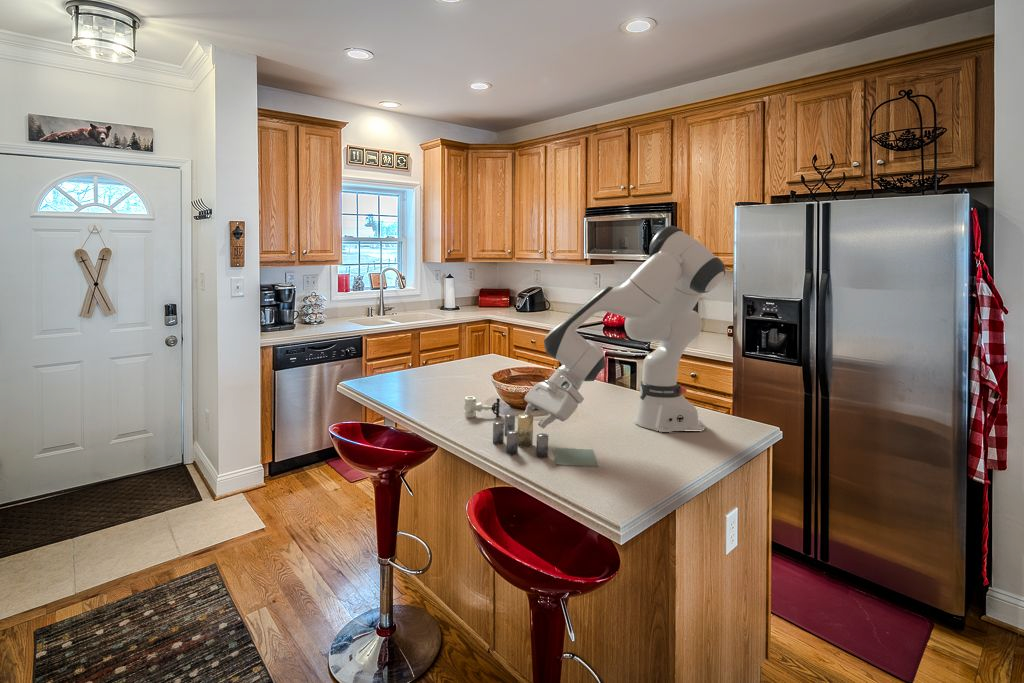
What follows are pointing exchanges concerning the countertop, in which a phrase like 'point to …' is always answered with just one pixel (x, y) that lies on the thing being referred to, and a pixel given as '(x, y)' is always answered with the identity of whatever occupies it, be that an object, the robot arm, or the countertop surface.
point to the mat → (575, 457)
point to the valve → (479, 407)
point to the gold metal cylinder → (525, 430)
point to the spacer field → (516, 437)
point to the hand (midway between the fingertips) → (532, 422)
